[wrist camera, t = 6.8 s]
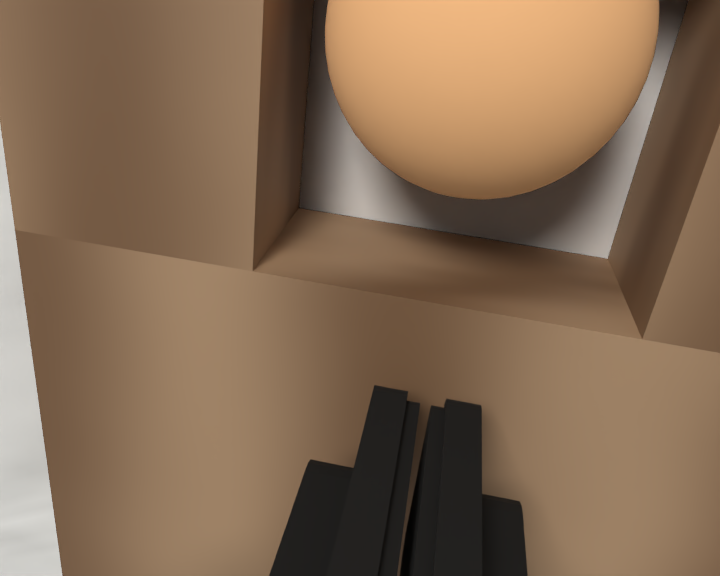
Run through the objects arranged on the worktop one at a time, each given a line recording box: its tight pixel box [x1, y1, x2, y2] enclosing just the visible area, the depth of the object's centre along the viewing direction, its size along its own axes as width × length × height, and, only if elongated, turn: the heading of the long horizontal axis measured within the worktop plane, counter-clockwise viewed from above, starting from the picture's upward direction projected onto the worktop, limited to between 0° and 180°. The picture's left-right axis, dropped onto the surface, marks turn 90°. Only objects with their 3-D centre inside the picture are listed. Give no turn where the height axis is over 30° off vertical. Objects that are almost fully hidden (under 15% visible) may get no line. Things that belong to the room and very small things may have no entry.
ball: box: [325, 0, 659, 200], centre depth 9 cm, size 4×4×4 cm
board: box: [0, 0, 720, 576], centre depth 12 cm, size 14×18×3 cm
